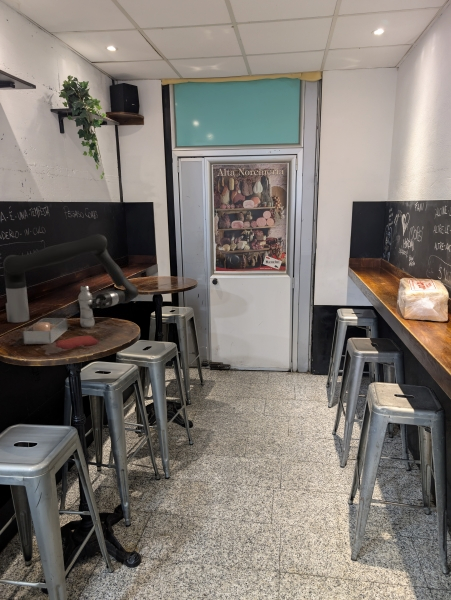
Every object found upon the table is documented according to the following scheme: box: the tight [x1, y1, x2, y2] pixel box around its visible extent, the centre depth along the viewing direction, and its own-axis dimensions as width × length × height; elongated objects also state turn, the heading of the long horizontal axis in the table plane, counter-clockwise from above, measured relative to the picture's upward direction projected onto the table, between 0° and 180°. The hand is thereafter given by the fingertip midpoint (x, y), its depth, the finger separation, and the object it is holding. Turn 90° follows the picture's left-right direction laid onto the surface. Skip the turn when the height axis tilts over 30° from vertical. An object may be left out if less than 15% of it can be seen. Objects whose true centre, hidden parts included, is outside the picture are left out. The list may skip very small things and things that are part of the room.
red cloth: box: [55, 335, 99, 350], centre depth 178 cm, size 18×14×2 cm
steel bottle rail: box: [22, 317, 69, 345], centre depth 186 cm, size 11×22×6 cm, turn 2°
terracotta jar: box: [32, 322, 50, 331], centre depth 181 cm, size 7×7×7 cm
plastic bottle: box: [77, 285, 95, 328], centre depth 201 cm, size 6×7×20 cm
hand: (83, 305), depth 199 cm, fingers open, 8 cm apart
